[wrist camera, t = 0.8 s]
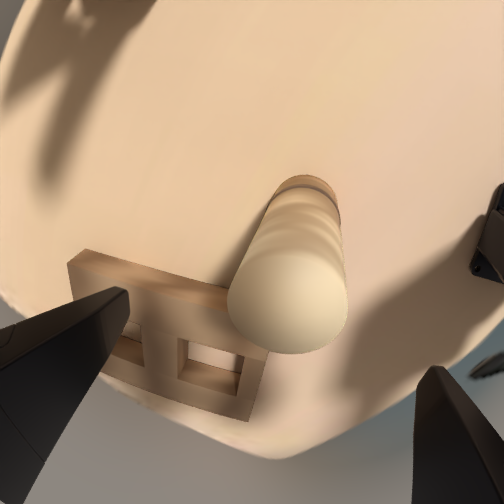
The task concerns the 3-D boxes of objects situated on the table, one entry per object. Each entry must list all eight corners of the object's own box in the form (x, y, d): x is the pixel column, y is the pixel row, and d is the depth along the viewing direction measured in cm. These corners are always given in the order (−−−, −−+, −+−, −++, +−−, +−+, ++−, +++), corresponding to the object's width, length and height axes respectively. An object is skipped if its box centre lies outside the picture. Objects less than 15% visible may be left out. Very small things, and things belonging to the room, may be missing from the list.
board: (281, 302, 22) (276, 325, 20) (253, 401, 28) (248, 422, 25) (85, 248, 24) (66, 263, 21) (102, 350, 29) (90, 366, 27)
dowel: (345, 183, 17) (367, 272, 9) (328, 243, 19) (328, 364, 11) (278, 167, 18) (233, 240, 9) (266, 228, 20) (219, 339, 11)
